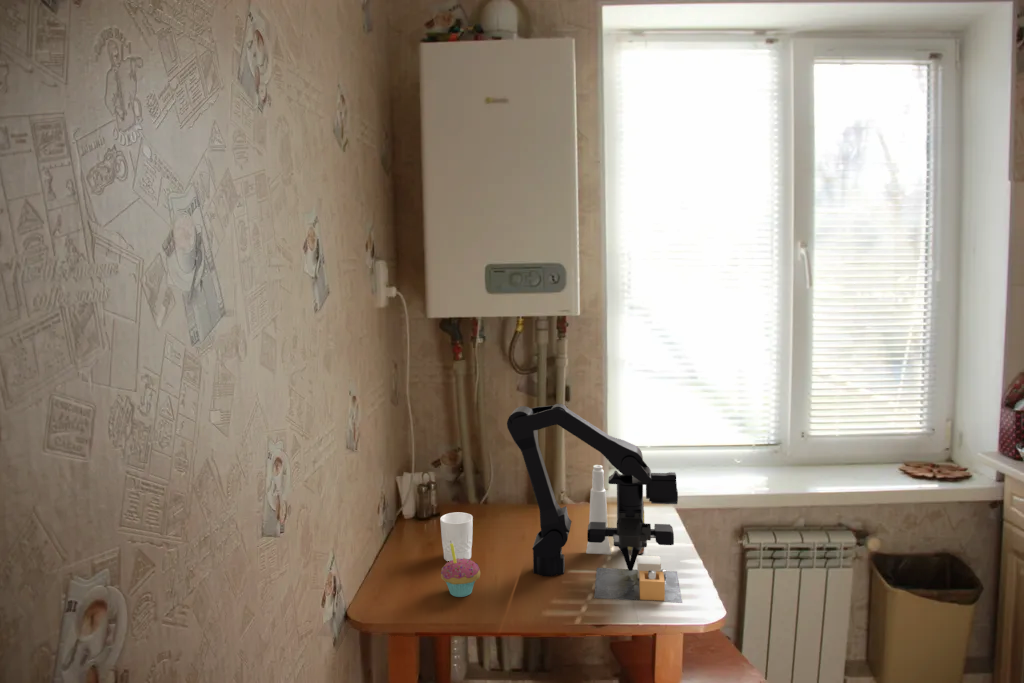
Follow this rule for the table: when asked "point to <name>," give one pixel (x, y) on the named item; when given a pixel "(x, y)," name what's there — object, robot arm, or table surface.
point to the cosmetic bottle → (598, 510)
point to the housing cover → (648, 563)
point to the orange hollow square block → (651, 586)
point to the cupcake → (460, 575)
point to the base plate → (632, 584)
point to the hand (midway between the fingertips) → (630, 570)
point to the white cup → (457, 534)
